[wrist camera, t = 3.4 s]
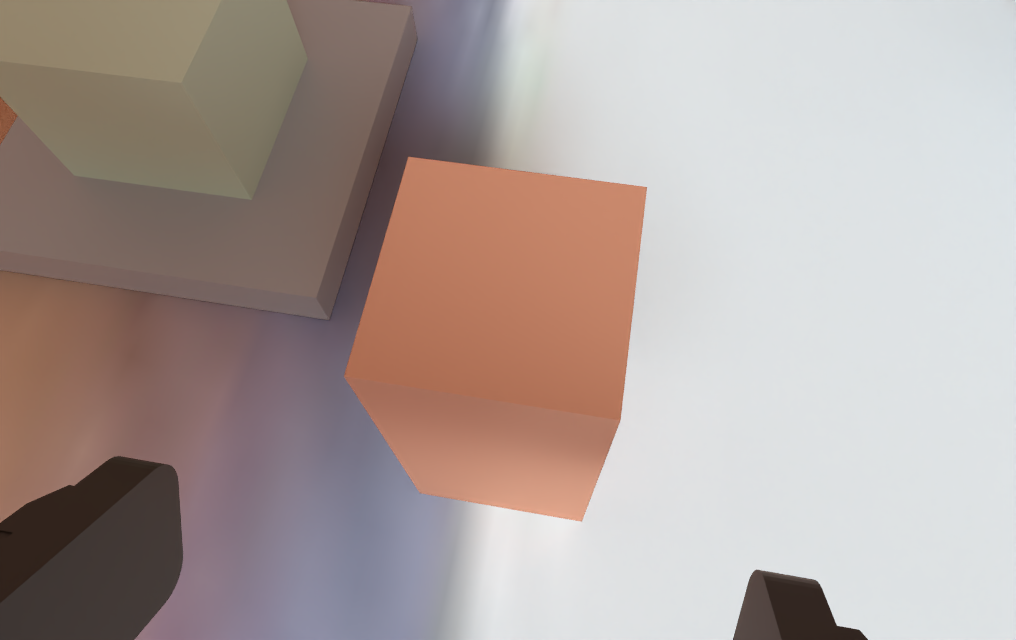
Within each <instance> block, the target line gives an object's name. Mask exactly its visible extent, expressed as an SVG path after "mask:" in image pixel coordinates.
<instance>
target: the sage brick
mask: <svg viewBox="0 0 1016 640" xmlns="http://www.w3.org/2000/svg"><path fill="white" fill-rule="evenodd" d="M307 60H308V57H307V54H306V52H305V49H304V46H303V44H302V41H301V38H300V35H299V33H298V30H297V27H296V25H295V22H294V19H293V16H292V14H291V11H290V8H289V5H288V3H287V0H0V97H1V98H2V99H3V100H4V101H5V102H6V103H7V105H8V106H9V107H10V108H11V109H12V110H13V111H14V112H15V113H16V114H17V115H18V116H19V117H20V118H21V119H22V121H23V122H24V123H25V124H26V125H27V126H28V127H29V128H30V129H31V130H32V131H33V132H34V133H35V134H36V135H37V136H38V138H39V139H40V140H41V141H42V142H43V143H44V144H45V145H46V146H47V147H48V148H49V149H50V150H51V151H52V152H53V154H54V155H55V156H56V157H57V158H58V159H59V160H60V161H61V162H62V163H63V164H64V165H65V166H66V167H67V168H68V170H69V171H70V172H71V173H72V174H73V175H74V176H80V177H88V178H95V179H102V180H110V181H117V182H124V183H132V184H139V185H146V186H154V187H161V188H168V189H176V190H183V191H190V192H198V193H205V194H212V195H220V196H227V197H234V198H242V199H249V200H252V198H253V196H254V193H255V191H256V188H257V186H258V183H259V181H260V178H261V175H262V173H263V170H264V168H265V165H266V163H267V160H268V158H269V155H270V153H271V150H272V148H273V145H274V143H275V140H276V138H277V135H278V133H279V130H280V128H281V125H282V123H283V120H284V118H285V115H286V112H287V110H288V107H289V105H290V102H291V100H292V97H293V95H294V92H295V90H296V87H297V85H298V82H299V80H300V77H301V75H302V72H303V70H304V67H305V65H306V62H307Z"/></svg>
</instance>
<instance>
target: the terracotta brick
mask: <svg viewBox="0 0 1016 640" xmlns="http://www.w3.org/2000/svg"><path fill="white" fill-rule="evenodd" d="M646 191H647V187H642V186H634V185H626V184H618V183H610V182H602V181H595V180H587V179H579V178H571V177H563V176H555V175H548V174H540V173H532V172H524V171H516V170H508V169H500V168H493V167H485V166H477V165H469V164H461V163H453V162H446V161H438V160H430V159H422V158H414V157H408V160H407V163H406V167H405V170H404V174H403V177H402V180H401V184H400V187H399V191H398V194H397V197H396V201H395V204H394V208H393V211H392V215H391V218H390V221H389V225H388V228H387V232H386V235H385V238H384V242H383V245H382V249H381V252H380V255H379V259H378V262H377V266H376V269H375V272H374V276H373V279H372V283H371V286H370V289H369V293H368V296H367V300H366V303H365V307H364V310H363V313H362V317H361V320H360V324H359V327H358V330H357V334H356V337H355V341H354V344H353V347H352V351H351V354H350V358H349V361H348V364H347V368H346V371H345V375H344V377H345V378H346V380H347V382H348V383H349V385H350V386H351V388H352V389H353V391H354V392H355V394H356V395H357V397H358V398H359V400H360V402H361V403H362V405H363V406H364V408H365V409H366V411H367V412H368V414H369V415H370V417H371V418H372V420H373V422H374V423H375V425H376V426H377V428H378V429H379V431H380V432H381V434H382V435H383V437H384V438H385V440H386V442H387V443H388V445H389V446H390V448H391V449H392V451H393V452H394V454H395V455H396V457H397V458H398V460H399V462H400V463H401V465H402V466H403V468H404V469H405V471H406V472H407V474H408V475H409V477H410V478H411V480H412V482H413V483H414V485H415V486H416V488H417V489H418V491H419V492H420V493H422V494H428V495H433V496H439V497H445V498H451V499H456V500H462V501H468V502H473V503H479V504H485V505H491V506H496V507H502V508H508V509H513V510H519V511H525V512H531V513H536V514H542V515H548V516H553V517H559V518H565V519H571V520H576V521H582V519H583V517H584V514H585V512H586V509H587V506H588V504H589V501H590V499H591V496H592V493H593V491H594V488H595V485H596V483H597V480H598V478H599V475H600V472H601V470H602V467H603V465H604V462H605V459H606V457H607V454H608V451H609V449H610V446H611V444H612V441H613V438H614V436H615V433H616V431H617V428H618V425H619V423H620V419H621V410H622V401H623V393H624V384H625V375H626V366H627V357H628V349H629V340H630V331H631V322H632V314H633V305H634V296H635V287H636V278H637V270H638V261H639V252H640V243H641V234H642V226H643V217H644V208H645V199H646Z"/></svg>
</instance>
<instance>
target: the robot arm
mask: <svg viewBox="0 0 1016 640" xmlns="http://www.w3.org/2000/svg"><path fill="white" fill-rule="evenodd" d="M182 562H183V546H182V531H181V515H180V500H179V485H178V476H177V473H176V471H175V469H174V468H173V467H172V466H170V465H167V464H161V463H155V462H149V461H144V460H138V459H132V458H127V457H121V456H117V457H113V458H111V459H109V460H108V461H106V462H105V463H104V464H102V465H101V466H100V467H98V468H97V469H96V470H94V471H93V472H92V473H91V474H89V475H88V476H87V477H85V478H84V479H83V480H81V481H80V482H79V483H78V484H76V485H75V486H72V485H68V486H66V487H64V488H61V489H59V490H57V491H55V492H52V493H50V494H48V495H45V496H43V497H41V498H39V499H36V500H34V501H32V502H29V503H27V504H26V505H24V506H23V507H21V508H20V509H19V510H17V511H16V512H15V513H13V514H12V515H11V516H9V517H8V518H7V519H5V520H4V521H2V522H1V523H0V640H134V639H135V638H136V637H137V636H138V635H139V633H140V632H141V631H142V630H143V629H144V627H145V626H146V625H147V624H148V623H149V622H150V620H151V619H152V618H153V617H154V616H155V614H156V613H157V612H158V611H159V610H160V609H161V607H162V606H163V605H164V604H165V603H166V601H167V600H168V599H169V597H170V595H171V594H172V592H173V590H174V588H175V586H176V584H177V581H178V578H179V575H180V572H181V568H182ZM733 640H868V639H867V638H866V637H865V636H864V635H863V634H862V632H861V631H860V630H857V629H851V628H846V627H840V626H837V625H836V623H835V620H834V618H833V615H832V613H831V610H830V608H829V605H828V603H827V600H826V598H825V595H824V593H823V590H822V588H821V586H820V584H819V583H818V582H817V581H816V580H813V579H807V578H801V577H796V576H790V575H784V574H779V573H773V572H767V571H761V570H755V571H754V572H753V573H752V575H751V577H750V579H749V583H748V586H747V590H746V593H745V597H744V601H743V604H742V608H741V612H740V616H739V619H738V623H737V627H736V630H735V634H734V638H733Z"/></svg>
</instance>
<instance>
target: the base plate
mask: <svg viewBox="0 0 1016 640" xmlns="http://www.w3.org/2000/svg"><path fill="white" fill-rule="evenodd" d="M287 3H288V5H289V8H290V11H291V14H292V16H293V19H294V22H295V25H296V27H297V30H298V33H299V35H300V38H301V41H302V44H303V46H304V49H305V52H306V54H307V57H308V60H307V62H306V65H305V67H304V70H303V72H302V75H301V77H300V80H299V82H298V85H297V87H296V90H295V92H294V95H293V97H292V100H291V102H290V105H289V107H288V110H287V112H286V115H285V118H284V120H283V123H282V125H281V128H280V130H279V133H278V135H277V138H276V140H275V143H274V145H273V148H272V150H271V153H270V155H269V158H268V160H267V163H266V165H265V168H264V170H263V173H262V175H261V178H260V181H259V183H258V186H257V188H256V191H255V193H254V196H253V198H252V200H249V199H242V198H234V197H227V196H220V195H212V194H205V193H198V192H190V191H183V190H176V189H168V188H161V187H154V186H146V185H139V184H132V183H124V182H117V181H110V180H102V179H95V178H88V177H80V176H74V175H73V174H72V173H71V172H70V171H69V170H68V168H67V167H66V166H65V165H64V164H63V163H62V162H61V161H60V160H59V159H58V158H57V157H56V156H55V155H54V154H53V152H52V151H51V150H50V149H49V148H48V147H47V146H46V145H45V144H44V143H43V142H42V141H41V140H40V139H39V138H38V136H37V135H36V134H35V133H34V132H33V131H32V130H31V129H30V128H29V127H28V126H27V125H26V124H25V123H24V122H23V121H22V119H21V118H20V117H19V116H17V118H16V120H15V121H14V123H13V125H12V126H11V128H10V130H9V131H8V133H7V135H6V136H5V138H4V140H3V141H2V143H1V145H0V270H3V271H10V272H16V273H23V274H30V275H36V276H43V277H49V278H56V279H62V280H69V281H76V282H82V283H89V284H95V285H102V286H108V287H115V288H122V289H128V290H135V291H141V292H148V293H154V294H161V295H167V296H174V297H181V298H187V299H194V300H200V301H207V302H213V303H220V304H227V305H233V306H240V307H246V308H253V309H259V310H266V311H273V312H279V313H286V314H292V315H299V316H305V317H312V318H318V319H325V320H329V319H330V316H331V313H332V310H333V307H334V303H335V300H336V297H337V294H338V291H339V288H340V284H341V281H342V278H343V275H344V272H345V268H346V265H347V262H348V259H349V256H350V253H351V249H352V246H353V243H354V240H355V237H356V233H357V230H358V227H359V224H360V221H361V217H362V214H363V211H364V208H365V205H366V202H367V198H368V195H369V192H370V189H371V186H372V182H373V179H374V176H375V173H376V170H377V166H378V163H379V160H380V157H381V154H382V151H383V147H384V144H385V141H386V138H387V135H388V131H389V128H390V125H391V122H392V119H393V116H394V112H395V109H396V106H397V103H398V100H399V96H400V93H401V90H402V87H403V84H404V80H405V77H406V74H407V71H408V68H409V65H410V61H411V58H412V55H413V52H414V49H415V45H416V42H417V33H416V28H415V22H414V17H413V11H412V6H403V5H394V4H384V3H375V2H366V1H356V0H287Z"/></svg>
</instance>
